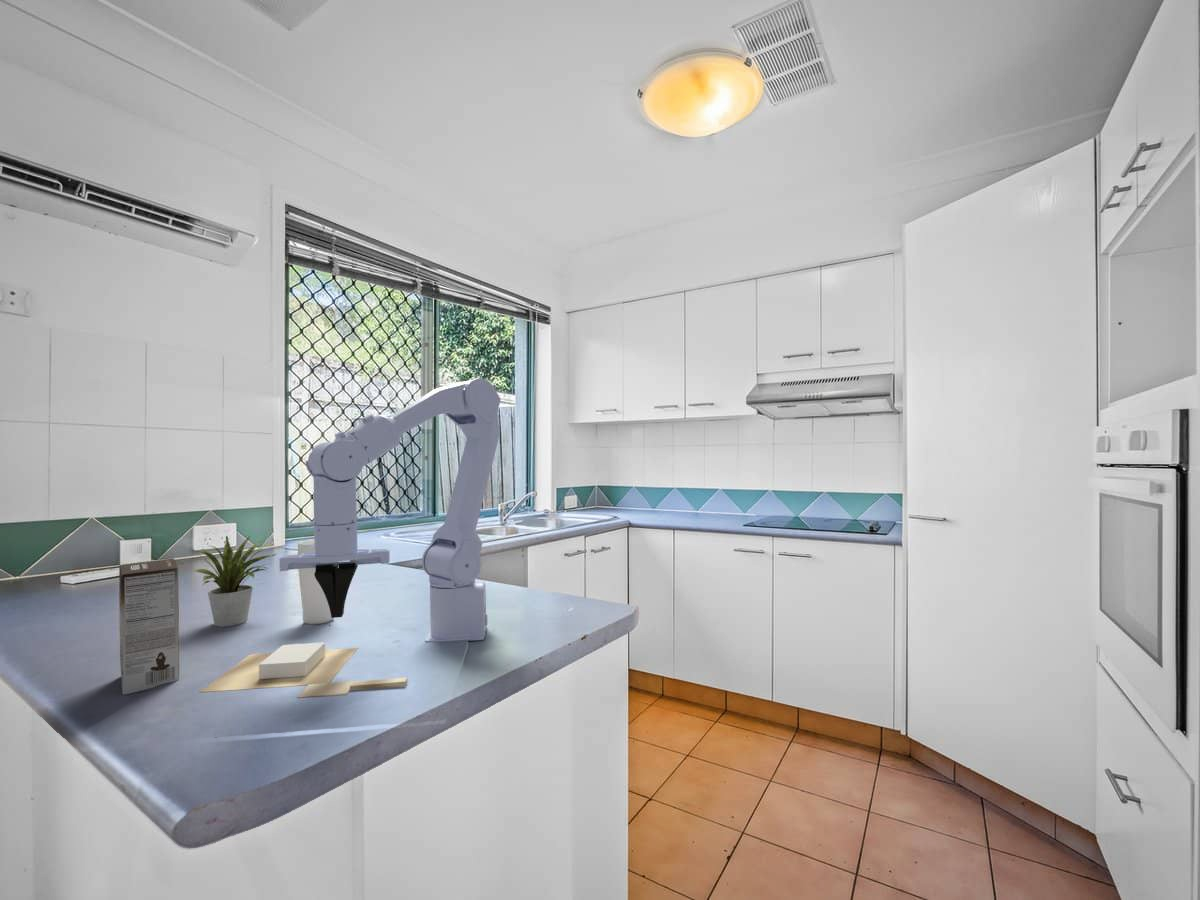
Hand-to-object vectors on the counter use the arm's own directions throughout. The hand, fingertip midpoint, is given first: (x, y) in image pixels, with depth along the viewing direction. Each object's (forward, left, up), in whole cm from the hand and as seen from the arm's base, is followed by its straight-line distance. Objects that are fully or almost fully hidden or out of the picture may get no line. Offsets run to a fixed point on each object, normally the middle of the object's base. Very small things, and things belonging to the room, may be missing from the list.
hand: (337, 615), depth 83 cm
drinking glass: (+11, -25, -8) cm, 28 cm away
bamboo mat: (+7, 0, -8) cm, 10 cm away
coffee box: (+25, 0, -8) cm, 26 cm away
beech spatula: (-5, +9, -8) cm, 13 cm away
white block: (+3, 0, -6) cm, 7 cm away
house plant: (+27, -26, -8) cm, 38 cm away
